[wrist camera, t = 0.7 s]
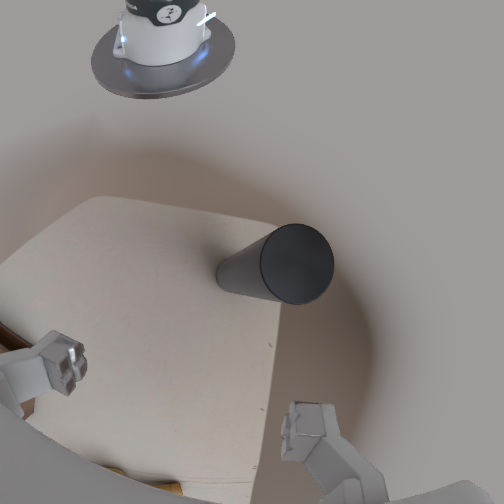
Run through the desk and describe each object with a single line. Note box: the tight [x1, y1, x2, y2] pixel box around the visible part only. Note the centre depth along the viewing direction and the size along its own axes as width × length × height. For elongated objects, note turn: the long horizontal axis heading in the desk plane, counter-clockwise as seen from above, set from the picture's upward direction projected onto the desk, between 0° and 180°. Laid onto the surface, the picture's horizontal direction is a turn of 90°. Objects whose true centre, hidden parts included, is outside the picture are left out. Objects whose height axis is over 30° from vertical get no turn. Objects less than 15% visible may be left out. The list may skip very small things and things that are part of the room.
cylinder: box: [216, 224, 334, 305], centre depth 26 cm, size 5×5×22 cm
